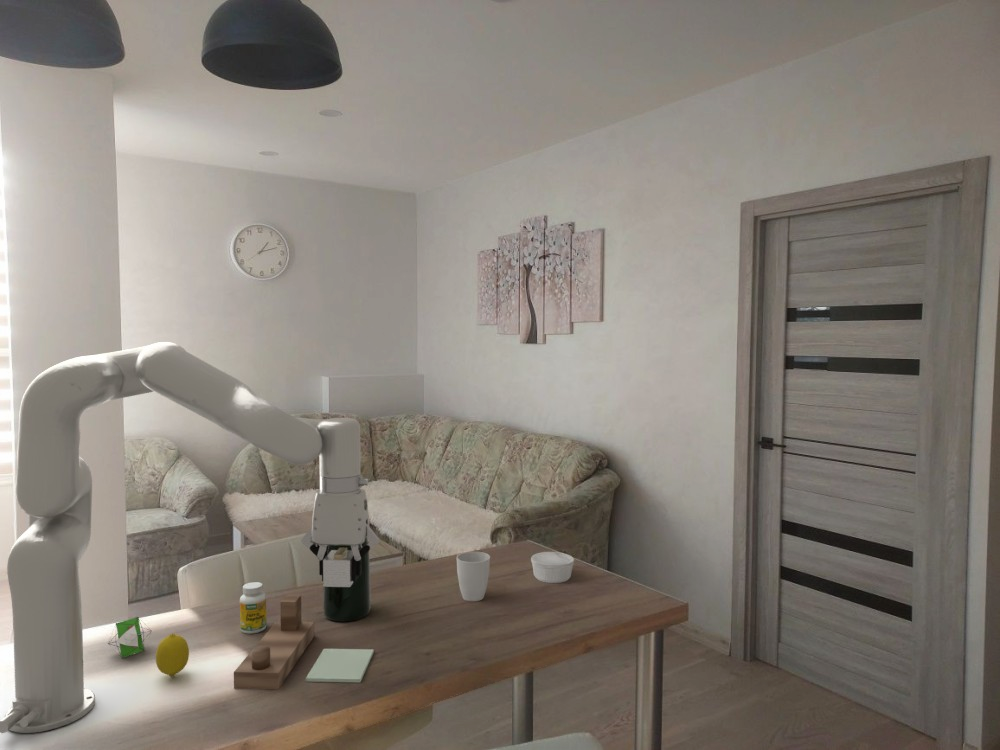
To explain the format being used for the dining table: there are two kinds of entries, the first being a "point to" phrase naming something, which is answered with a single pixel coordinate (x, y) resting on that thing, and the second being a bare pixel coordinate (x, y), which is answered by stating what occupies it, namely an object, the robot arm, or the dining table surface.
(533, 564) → the ramekin
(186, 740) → the dining table surface
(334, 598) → the dark green wine bottle
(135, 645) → the geometric puzzle
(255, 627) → the supplement bottle
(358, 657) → the mat
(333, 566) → the white block
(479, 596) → the cup
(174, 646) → the lemon
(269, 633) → the tan board with knob
